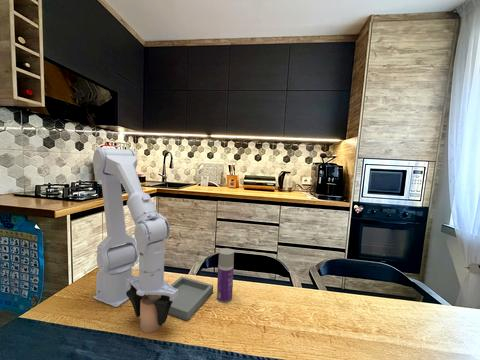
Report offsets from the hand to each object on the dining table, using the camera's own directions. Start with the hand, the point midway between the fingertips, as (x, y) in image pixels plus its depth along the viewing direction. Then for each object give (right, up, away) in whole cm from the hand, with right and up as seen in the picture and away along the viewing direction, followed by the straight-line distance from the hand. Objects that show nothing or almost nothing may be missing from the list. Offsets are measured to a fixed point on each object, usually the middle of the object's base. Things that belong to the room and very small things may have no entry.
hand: (151, 318), depth 56 cm
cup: (0, -2, 0) cm, 2 cm away
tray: (+6, -1, +11) cm, 12 cm away
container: (+18, -2, +13) cm, 22 cm away
